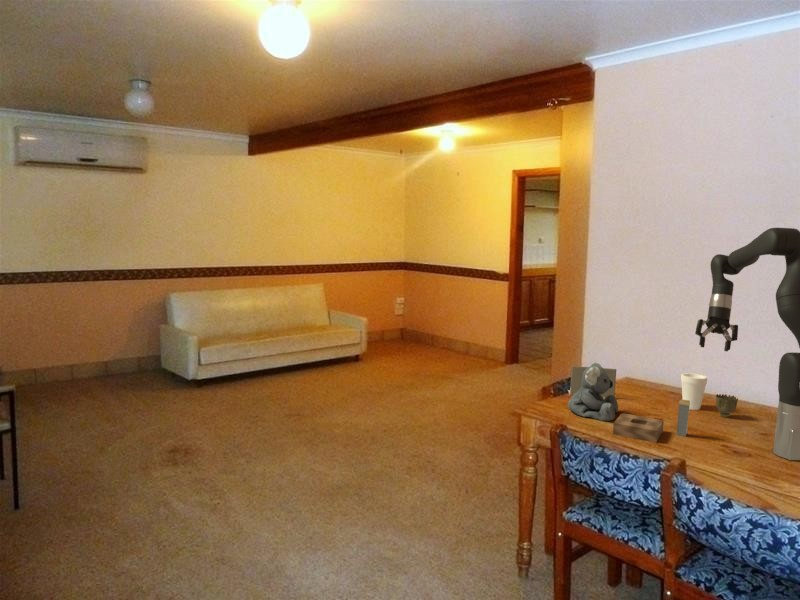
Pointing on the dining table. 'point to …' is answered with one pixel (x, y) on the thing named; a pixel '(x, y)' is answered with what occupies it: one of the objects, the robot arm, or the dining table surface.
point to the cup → (726, 404)
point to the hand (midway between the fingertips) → (714, 349)
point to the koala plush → (594, 395)
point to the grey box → (577, 378)
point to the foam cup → (693, 389)
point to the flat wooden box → (638, 427)
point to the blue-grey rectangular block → (683, 417)
